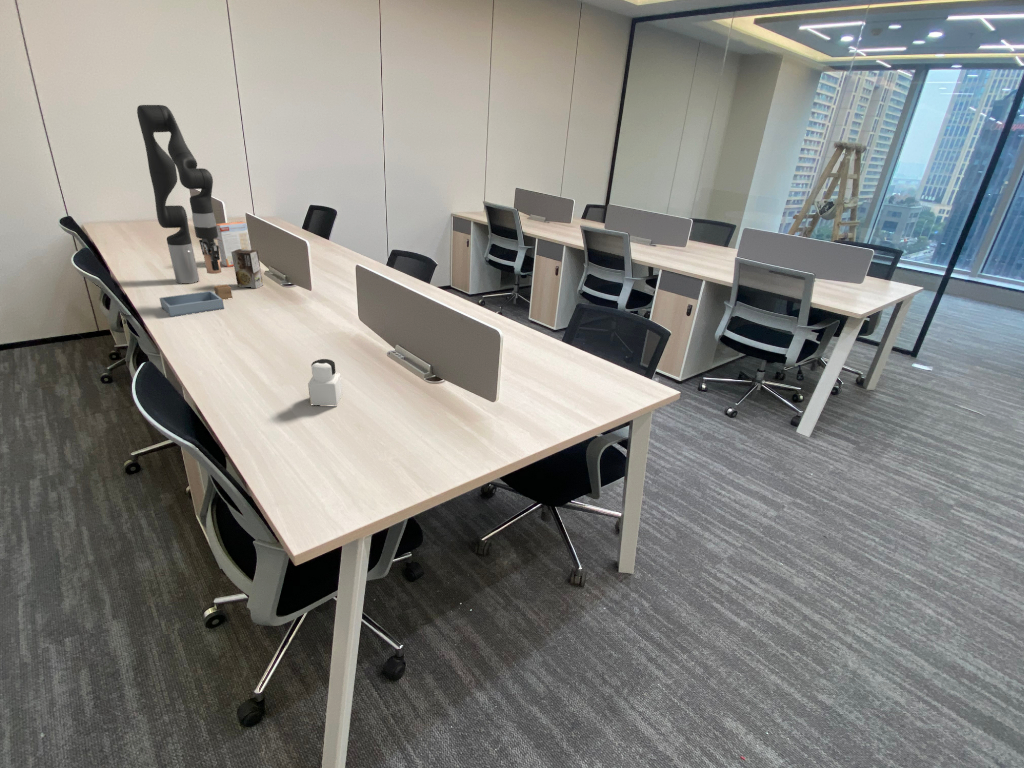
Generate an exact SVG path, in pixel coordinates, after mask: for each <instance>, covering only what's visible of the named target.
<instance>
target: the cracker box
mask: <svg viewBox="0 0 1024 768" xmlns="http://www.w3.org/2000/svg"><path fill="white" fill-rule="evenodd" d="M216 226H217V232H218V237H217V238H216V240H217V245H218V246H219V256H220V261H221V265H222V266H225V267H228V268H231V267H234V264H233V258H232V253H231V252H233V251H235V250H238V249H245V250H252V247H251V242H250V236H249V229H248V224H247V222H243V221H234V222H221V223H216Z"/></svg>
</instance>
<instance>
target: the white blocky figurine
mask: <svg viewBox="0 0 1024 768" xmlns="http://www.w3.org/2000/svg"><path fill="white" fill-rule="evenodd" d="M310 365H311V374H312V375H311V376H312V377H311V378H310V380H309V381H308V383H307V386H308V391H309V392H308V393H309V394H308V395H309V400H310V401H309V403H310V405H311V404H313V405H337V404H338V405H339V403H340V401H339V400H341V399H340V398H342V397H341V395H342V396H343V388H342V387H343V386H342V379H341V377H342V376H341V373H340V372H336V364H335V361H334V360H331V359H328V358H319V359H316V360H314V361H313V362H312V363H311V364H310ZM338 402H339V403H338ZM338 405H337V406H338Z"/></svg>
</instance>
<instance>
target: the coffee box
mask: <svg viewBox="0 0 1024 768" xmlns="http://www.w3.org/2000/svg"><path fill="white" fill-rule="evenodd" d="M231 253H232V258H233V264H234V266H233V269H234V273H235V279H236V283H237V287H238V286H241V287H240V288H244V287H251V288H250V289H258V288H260V287H263V286H264V283H263V276H262V269H261V264H260V256H259V251H258V250H257V249H256V250H253V249H251V250H245V249H238V250H235V251H233V252H231ZM262 285H263V286H262ZM257 287H258V288H257Z"/></svg>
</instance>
